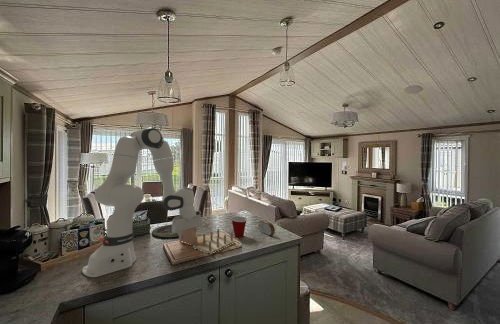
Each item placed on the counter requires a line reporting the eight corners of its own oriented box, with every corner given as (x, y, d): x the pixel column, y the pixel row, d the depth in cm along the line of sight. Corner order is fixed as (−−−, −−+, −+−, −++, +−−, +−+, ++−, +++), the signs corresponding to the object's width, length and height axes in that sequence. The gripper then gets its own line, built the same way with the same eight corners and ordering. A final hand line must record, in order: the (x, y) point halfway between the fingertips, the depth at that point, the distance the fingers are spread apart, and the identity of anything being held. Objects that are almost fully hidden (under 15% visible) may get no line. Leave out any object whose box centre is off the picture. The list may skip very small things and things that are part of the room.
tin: (275, 236, 149) (275, 223, 149) (271, 237, 147) (271, 224, 147) (261, 230, 162) (261, 218, 162) (257, 231, 160) (257, 219, 160)
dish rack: (211, 254, 122) (211, 242, 122) (192, 248, 131) (192, 237, 130) (235, 243, 138) (235, 232, 138) (217, 238, 147) (217, 228, 147)
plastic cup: (242, 240, 143) (241, 221, 143) (227, 237, 148) (227, 219, 148) (250, 235, 152) (250, 217, 152) (237, 232, 158) (236, 215, 157)
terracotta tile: (192, 245, 135) (192, 230, 135) (179, 241, 142) (179, 227, 142) (195, 244, 137) (195, 229, 137) (182, 240, 144) (182, 226, 144)
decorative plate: (143, 236, 146) (162, 223, 176) (143, 239, 146) (162, 225, 176) (189, 237, 146) (200, 223, 176) (189, 240, 146) (200, 225, 176)
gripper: (175, 218, 129) (176, 242, 129) (202, 211, 146) (203, 232, 146) (169, 216, 133) (169, 240, 133) (196, 209, 149) (196, 230, 150)
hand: (187, 236), depth 140 cm, fingers open, 8 cm apart
